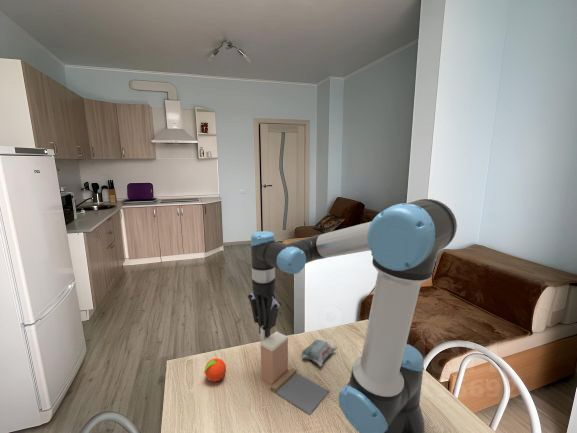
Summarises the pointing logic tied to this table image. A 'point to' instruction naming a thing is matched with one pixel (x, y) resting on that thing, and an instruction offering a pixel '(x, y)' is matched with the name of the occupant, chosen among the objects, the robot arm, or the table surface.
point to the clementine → (215, 369)
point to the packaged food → (318, 351)
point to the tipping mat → (299, 391)
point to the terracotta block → (274, 358)
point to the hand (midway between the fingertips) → (265, 343)
